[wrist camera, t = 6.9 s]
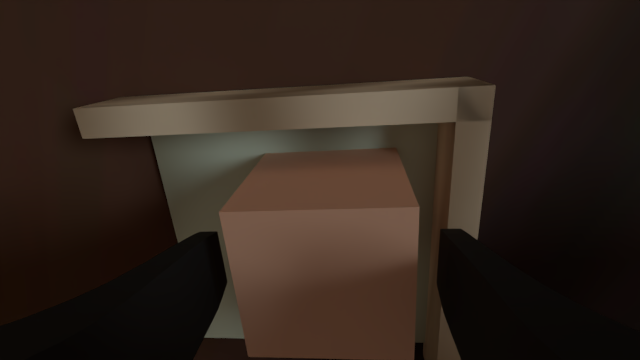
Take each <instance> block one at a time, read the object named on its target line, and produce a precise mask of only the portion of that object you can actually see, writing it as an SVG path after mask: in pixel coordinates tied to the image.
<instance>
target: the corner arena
mask: <svg viewBox="0 0 640 360" xmlns="http://www.w3.org/2000/svg"><path fill="white" fill-rule="evenodd" d="M495 87H496V85H494V84H491V83H487V82H484V81H481V80H478V79H474V78H471V77H454V78H437V79H420V80H403V81H386V82H369V83H352V84H336V85H319V86H302V87H285V88H268V89H251V90H234V91H217V92H200V93H183V94H166V95H149V96H132V97H120V98H116V99H111V100H107V101H103V102H99V103H95V104H90V105H86V106H82V107H78V108H74V109H73V111H74V114H75V117H76V120H77V123H78V126H79V129H80V132H81V135H82V138H83V139H90V138H112V137H134V136H151V139H152V143H153V147H154V151H155V154H156V158H157V162H158V166H159V170H160V174H161V178H162V182H163V186H164V190H165V194H166V198H167V202H168V206H169V209H170V213H171V217H172V221H173V225H174V229H175V233H176V237H177V241H178V243H179V242H181V241H182V240H184V239H186V238H188V237H190V236H192V235H194V234H196V233H198V232H209V231H217V232H218V237H219V242H220V247H221V252H222V257H223V262H224V267H225V272H226V277H227V285H226V288H225V291H224V295H223V298H222V300H221V303H220V306H219V309H218V311H217V313H216V315H215V317H214V319H213V321H212V323H211V325H210V327H209V329H208V331H207V333H206V335H205V337H204V338H244V333H243V328H242V323H241V318H240V314H239V309H238V304H237V299H236V294H235V289H234V284H233V279H232V275H231V270H230V265H229V260H228V255H227V250H226V245H225V240H224V235H223V231H222V226H221V221H220V216H219V211H220V210H221V209H222V208H223V206H224V205H225V204H226V203H227V201H228V200H229V199H230V197H231V196H232V195H233V194H234V192H235V191H236V190H237V189H238V187H239V186H240V185H241V184H242V182H243V181H244V180H245V179H246V177H247V176H248V175H249V174H250V172H251V171H252V170H253V168H254V167H255V166H256V165H257V163H258V162H259V161H260V160H261V158H262V157H263V156H264V155H265V153H285V152H307V151H329V150H352V149H374V148H396V149H397V151H398V154H399V156H400V159H401V161H402V164H403V166H404V169H405V172H406V174H407V177H408V179H409V182H410V184H411V187H412V189H413V192H414V194H415V197H416V199H417V202H418V204H419V207H420V208H419V237H418V266H417V294H416V323H415V342H416V343H423V356H424V360H461V358H460V355H459V353H458V350H457V348H456V345H455V342H454V340H453V337H452V334H451V332H450V329H449V326H448V324H447V321H446V318H445V316H444V313H443V309H442V305H441V301H440V297H439V292H438V288H437V283H436V282H437V268H438V253H439V239H440V229H462V230H464V231H465V232H467V233H468V234H470V235H471V236H472V237H474V238H475V239H477V240H478V232H479V223H480V215H481V206H482V197H483V189H484V180H485V172H486V163H487V155H488V146H489V138H490V129H491V121H492V112H493V104H494V95H495Z"/></svg>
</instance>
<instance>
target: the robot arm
mask: <svg viewBox="0 0 640 360" xmlns="http://www.w3.org/2000/svg"><path fill="white" fill-rule="evenodd" d="M436 283H437V288H438V292H439V297H440V301H441V305H442V309H443V313H444V316H445V318H446V321H447V324H448V326H449V329H450V332H451V334H452V337H453V340H454V342H455V345H456V348H457V350H458V353H459V355H460V358H461V360H640V332H639V331H636V330H634V329H632V328H629V327H627V326H625V325H623V324H620V323H618V322H616V321H614V320H612V319H609V318H607V317H605V316H603V315H600V314H598V313H596V312H594V311H592V310H590V309H588V308H586V307H584V306H582V305H580V304H578V303H576V302H574V301H572V300H571V299H569V298H567V297H565V296H563V295H561V294H559V293H557V292H556V291H554V290H552V289H550V288H549V287H547V286H545V285H543V284H542V283H540V282H538V281H537V280H535V279H534V278H532V277H530V276H529V275H527V274H526V273H524V272H522V271H521V270H519V269H518V268H516V267H515V266H513V265H512V264H510V263H509V262H507V261H506V260H504V259H503V258H502V257H500V256H499V255H497V254H496V253H494V252H493V251H492V250H490V249H489V248H488V247H486V246H485V245H483V244H482V243H481V242H479V241H478V240H477V239H475V238H474V237H472V236H471V235H470V234H468V233H467V232H465V231H464V230H462V229H440V239H439V253H438V268H437V282H436ZM226 285H227V277H226V272H225V267H224V262H223V257H222V252H221V247H220V242H219V237H218V232H217V231H209V232H198V233H196V234H194V235H192V236H190V237H188V238H186V239H184V240H182V241H181V242H179V243H177V244H176V245H174V246H172V247H170V248H169V249H167V250H165V251H164V252H162V253H160V254H159V255H157V256H155V257H153V258H152V259H150V260H148V261H147V262H145V263H143V264H141V265H139V266H138V267H136V268H134V269H132V270H130V271H128V272H127V273H125V274H123V275H121V276H119V277H117V278H116V279H114V280H112V281H110V282H108V283H106V284H104V285H102V286H100V287H98V288H96V289H93V290H91V291H89V292H87V293H85V294H82V295H80V296H78V297H76V298H73V299H71V300H69V301H66V302H64V303H61V304H59V305H56V306H54V307H51V308H49V309H46V310H44V311H41V312H38V313H36V314H33V315H31V316H28V317H25V318H23V319H20V320H17V321H14V322H11V323H8V324H5V325H2V326H0V360H193V358H194V356H195V354H196V352H197V350H198V348H199V346H200V345H201V343H202V341H203V339H204V337H205V335H206V333H207V331H208V329H209V327H210V325H211V323H212V321H213V319H214V317H215V315H216V313H217V311H218V309H219V306H220V303H221V300H222V298H223V295H224V291H225V288H226Z"/></svg>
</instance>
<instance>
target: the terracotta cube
mask: <svg viewBox="0 0 640 360" xmlns="http://www.w3.org/2000/svg"><path fill="white" fill-rule="evenodd" d="M419 208H420V207H419V204H418V202H417V199H416V197H415V194H414V192H413V189H412V187H411V184H410V182H409V179H408V177H407V174H406V172H405V169H404V166H403V164H402V161H401V159H400V156H399V154H398V151H397V149H396V148H374V149H352V150H329V151H307V152H285V153H265V155H264V156H263V157H262V158H261V160H260V161H259V162H258V163H257V165H256V166H255V167H254V168H253V170H252V171H251V172H250V174H249V175H248V176H247V177H246V179H245V180H244V181H243V182H242V184H241V185H240V186H239V187H238V189H237V190H236V191H235V192H234V194H233V195H232V196H231V197H230V199H229V200H228V201H227V203H226V204H225V205H224V206H223V208H222V209H221V210H220V211H219V216H220V221H221V226H222V231H223V235H224V240H225V245H226V250H227V255H228V260H229V265H230V270H231V275H232V279H233V284H234V289H235V294H236V299H237V304H238V309H239V314H240V318H241V323H242V328H243V333H244V338H245V343H246V348H247V353H248V357H275V358H317V359H360V360H414V351H415V323H416V294H417V266H418V237H419Z"/></svg>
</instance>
